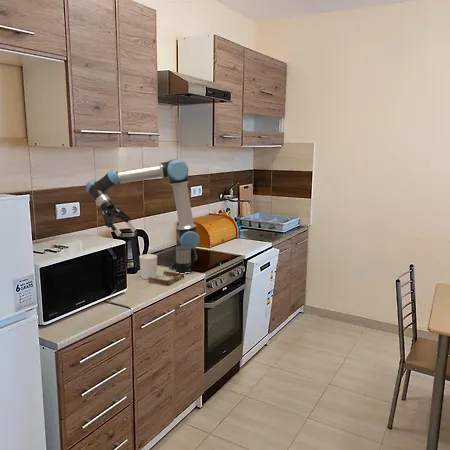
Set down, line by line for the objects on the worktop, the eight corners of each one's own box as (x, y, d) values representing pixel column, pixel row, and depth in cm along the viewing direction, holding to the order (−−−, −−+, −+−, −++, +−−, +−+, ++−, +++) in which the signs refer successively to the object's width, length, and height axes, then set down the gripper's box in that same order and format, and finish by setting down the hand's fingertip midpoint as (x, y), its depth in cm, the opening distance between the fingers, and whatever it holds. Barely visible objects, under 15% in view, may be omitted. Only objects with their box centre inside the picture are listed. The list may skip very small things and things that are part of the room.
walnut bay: (164, 275, 243) (164, 271, 242) (184, 278, 237) (184, 274, 237) (148, 282, 229) (148, 277, 229) (168, 285, 223) (168, 281, 223)
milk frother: (188, 275, 244) (188, 249, 241) (162, 272, 248) (162, 247, 246) (196, 268, 257) (196, 244, 255) (171, 266, 261) (171, 242, 259)
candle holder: (139, 275, 242) (139, 254, 240) (157, 274, 244) (156, 253, 242) (139, 280, 233) (139, 258, 231) (158, 279, 235) (157, 258, 233)
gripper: (115, 206, 257) (136, 233, 253) (86, 210, 234) (108, 240, 231) (122, 197, 254) (144, 225, 250) (93, 201, 231) (116, 231, 228)
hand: (127, 232), depth 240 cm, fingers open, 13 cm apart
